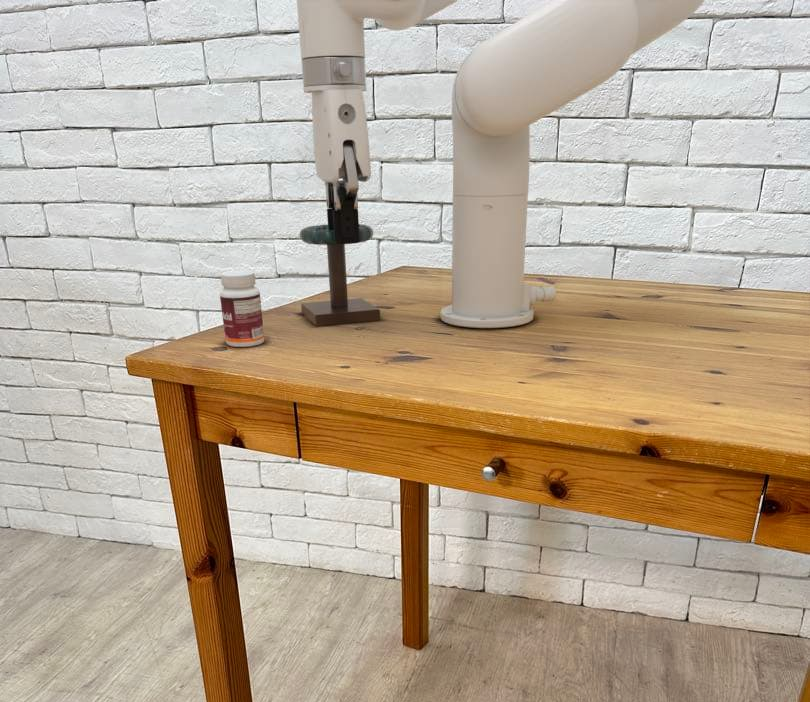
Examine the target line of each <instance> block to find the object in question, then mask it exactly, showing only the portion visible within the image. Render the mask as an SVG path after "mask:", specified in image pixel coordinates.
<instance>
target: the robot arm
mask: <svg viewBox="0 0 810 702" xmlns="http://www.w3.org/2000/svg"><path fill="white" fill-rule="evenodd" d="M458 1H459V0H296V7H297V18H298V19H297V20H298V21H297V23H298V32H299V45H300V59H301V73H302V85H303V93H305V94H311V115H312V138H313V139H312V140H313V154H314V166H315V172H316V176H317V178H318V179H319V180H321V181H322V182H324V187H325V200H326V201H325V202H326V207H327V208H326V217H327V225H328V230H334V241H335V243H336V244H338V245H340V244H345V245H353V244H358V243H359V241H360V239H359V224H360V221H359V200H358V199H359V198H358V192H359V190H360V185H359V182H364V183H366V182H368V181H369V180H370V179H371V176H372V168H371V153H370V143H369V132H368V131H369V128H368V120H367V112H366V111H367V110H366V104H365V103H366V102H365V99H364V92H366V91H367V72H366V70H367V69H366V52H365V51H366V47H365V45H366V44H365V22H364V21H365V19H372V20H374V21H375V22H376V23H377V24H378V25H380V26H381V27H383V28H385V29H387V30H389V31H404V30H407V29H409V28H412V27H414V26H416V25H418V24H420V23H421V22H423V21H424V20H427V19H428V18H430V17H432V16H434V15H435V14H437V13H439V12H440V11H442V10H444V9H446V8H448V7H450V6H451V5H454V4H455V3H457V2H458ZM705 1H706V0H549V1H548V2H547V3H544V4H543V5H541V6H539V7H538V8H537V9H535V10H533V11H532V12H530V13H529V14H527V15H526V16H524V17H522V18H521V19H519V20H517V21H515V22H514V23H513V24H510V25H509V26H507V27H505V28H504V29H502V30H501V31H499V32H497V33H496V34H494V35H492V36H491V37H489V38H487V39H486V40H484V41H483V42H482V43H480V44H479V45H477V46H476V47H475V48H474V49H473V50H471V52H470V53H468V55H467V56H466V57H465V58H464V59H463V61H462V62H461V63H460V66H459V67H458V70H457V72H456V74H455V77H454V80H453V84H452V85H453V86H452V93H451V125H452V127H451V128H452V220H451V221H452V222H451V224H452V225H451V226H452V229H451V230H452V233H451V234H452V236H451V237H452V238H451V240H452V243H451V245H452V246H451V304H450V305H446V306H444V307H443V308H441V310H440V314H439V317H440V320H441V321H442V322H444V323H446V324H448V325H451V326H455V327H462V328H471V329H472V328H473V329H501V328H502V329H503V328H511V327H517V326H522V325H525V324H526V325H527V324H528V323H530V322H531V321H533V320H534V313H535V311H534V309H532V308H531V307H530V306H533V305H534V304H535V303H536V302H541V303H543V302H553V301H555V299H556V297H557V290H556V287H555V286H553V285H548V286H540V287H538V286H537V285H531V283H527V282H524V281H525V280H524V279H525V278H524V277H525V263H526V262H525V261H526V241H527V240H526V238H527V221H528V219H527V218H528V200H529V199H528V198H529V187H530V186H529V185H530V163H531V162H530V160H531V159H530V158H531V157H530V156H531V155H530V154H531V149H530V148H531V145H530V144H531V143H530V142H531V140H530V139H531V138H530V134H531V133H530V130H531V129H530V128H531V127H530V125H533V124H534V123H536V122H538V121H540V120H541V119H543V118H545V117H546V116H548V115H551V114H552V113H553V112H555V111H557V110H558V109H562V108H563V107H564V106H566V105H568V104H569V103H571V102H573V101H575V100H577V99H578V98H579V97H581V96H583V95H585V94H586V93H588V92H590V91H592V90H593V89H595V88H598V87H599V86H600V85H602V84H603V83H605V82H607V81H608V80H609V79H611V78H612V77H613V76H615V75H616V74H618V73H619V71H620V70H621V69H622V68H623V67H624V66H625V65H626V63H627V62H628V61H629V59H630V57H631V56H632V55H634V54H635V53H637V52H639V51H641V50H643V48H645V47H647V46H648V45H650V44H651V43H653V42H654V41H656V40H658V39H659V38H660V37H662V36H664V35H665V34H667V33H669V32H671V30H673V29H675V28H676V27H678V26H679V25H680V24H682V23H684V22H685V21H687V19H689V18H690V17H691V16H693V14H695V12H697V10H698V9H699V8H700V7H701V6H702V4H703V3H704V2H705Z"/></svg>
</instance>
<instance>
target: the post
mask: <svg viewBox="0 0 810 702" xmlns="http://www.w3.org/2000/svg"><path fill="white" fill-rule="evenodd" d="M327 230H328V229H327ZM326 251H327V253H326V255H327V267H328V269H327V270H328V285H329V298H330V299H329V300H321V301H309V302H301V303H300V307H301V314H302V315H303V316H304V317H305V318H306V319H307V320H308V321H309V322H310V323H312V324H313V325H314V326H315V327H324V326H335V325H345V324H355V323H367V322H377V321H381V310H380V308H378V307H377V306H375V305H374V304H372V303H370V302H369V301H367V300H365V299H364V298H361V297H357V298H355V297H354V298H349V297H348V280H347V261H346V244H340V245H326Z"/></svg>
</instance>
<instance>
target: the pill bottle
mask: <svg viewBox="0 0 810 702" xmlns="http://www.w3.org/2000/svg"><path fill="white" fill-rule="evenodd" d="M220 283H221V286H222V287H223V288H222V289H221V290H220V292H219V301H220V307H221V315H222V323H223V329H224V338H225V343H226V345H228V346H230V347H234V348H248V347H255V346H256V347H257V346H259V345H261V344H263V343H264V342H265V332H264V322H263V321H264V320H263V313H262V302H261V301H262V299H261V293H260V290H259V288H257V287H256V286H255V285H256V276H255V271H253V270H248V269H234V270H226V271H222V272H220Z"/></svg>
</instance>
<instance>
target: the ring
mask: <svg viewBox="0 0 810 702" xmlns="http://www.w3.org/2000/svg"><path fill="white" fill-rule="evenodd" d="M327 229H328V224H318V225H310V226H307V227H304V228H302V229H300V232H299V239H300V240H301V241H302V242H303V243H305V244H307V245H317V246H318V245H319V246H327V245H338V244H336V243H335V241H334V230H327ZM373 237H374V230H373V228H372V227H371V226H369V225H367V224H363V223H362V224H361V223H359V239H360V241H359V243H360V244H361V243H366V242H367V241H369V240H371V239H372V238H373Z"/></svg>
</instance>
